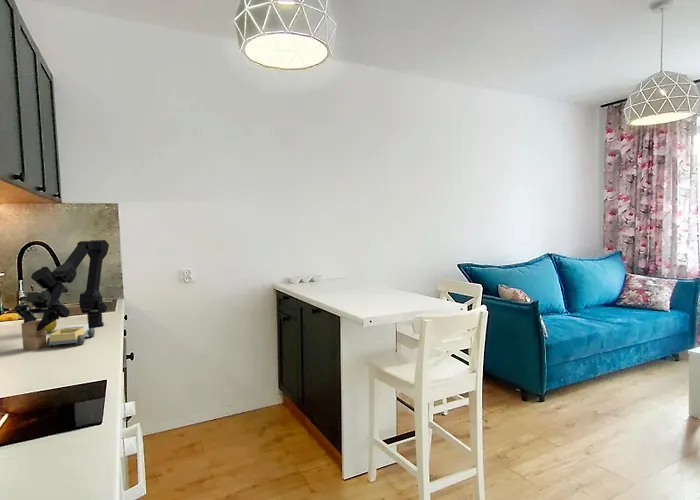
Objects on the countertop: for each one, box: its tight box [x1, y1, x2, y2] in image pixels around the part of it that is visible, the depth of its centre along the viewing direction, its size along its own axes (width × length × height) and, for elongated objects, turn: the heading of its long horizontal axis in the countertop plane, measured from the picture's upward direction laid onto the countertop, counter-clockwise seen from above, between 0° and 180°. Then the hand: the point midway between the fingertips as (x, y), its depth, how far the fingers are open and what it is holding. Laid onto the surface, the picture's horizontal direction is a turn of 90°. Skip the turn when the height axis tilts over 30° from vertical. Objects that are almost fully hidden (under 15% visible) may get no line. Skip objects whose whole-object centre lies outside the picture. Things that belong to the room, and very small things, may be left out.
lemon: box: [45, 320, 57, 334], centre depth 182 cm, size 6×6×8 cm
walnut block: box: [21, 319, 48, 351], centre depth 159 cm, size 5×5×10 cm
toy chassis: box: [46, 323, 96, 348], centre depth 166 cm, size 16×11×5 cm
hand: (30, 330), depth 157 cm, fingers open, 5 cm apart
